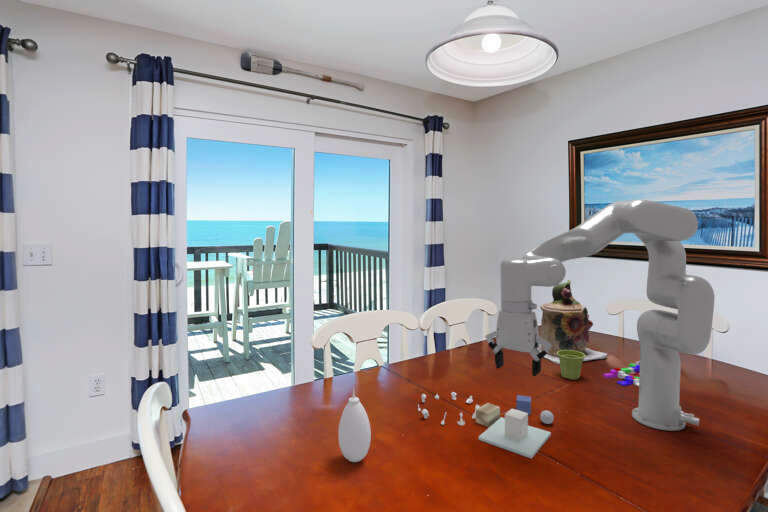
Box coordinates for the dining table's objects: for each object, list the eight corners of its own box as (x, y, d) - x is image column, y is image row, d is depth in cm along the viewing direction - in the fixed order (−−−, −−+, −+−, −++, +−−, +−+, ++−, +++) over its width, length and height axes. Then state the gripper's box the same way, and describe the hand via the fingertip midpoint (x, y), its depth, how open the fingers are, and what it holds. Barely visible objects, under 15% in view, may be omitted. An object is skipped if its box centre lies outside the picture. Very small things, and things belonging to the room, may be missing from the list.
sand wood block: (499, 420, 118) (499, 407, 117) (487, 427, 114) (487, 413, 113) (488, 415, 121) (488, 402, 120) (476, 422, 117) (476, 409, 116)
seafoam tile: (550, 435, 109) (550, 432, 109) (531, 458, 98) (531, 455, 98) (501, 419, 118) (501, 417, 118) (478, 439, 107) (478, 436, 107)
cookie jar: (522, 348, 184) (522, 278, 182) (566, 343, 192) (567, 275, 189) (561, 366, 161) (562, 286, 159) (609, 359, 168) (611, 282, 166)
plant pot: (589, 381, 145) (590, 357, 144) (562, 381, 145) (563, 358, 144) (577, 372, 154) (578, 349, 153) (552, 372, 154) (552, 350, 154)
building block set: (640, 395, 134) (640, 382, 133) (593, 374, 154) (593, 362, 153) (698, 386, 140) (698, 374, 140) (645, 367, 160) (646, 355, 160)
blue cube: (530, 409, 124) (530, 396, 124) (530, 415, 120) (530, 402, 120) (517, 407, 125) (517, 395, 125) (516, 413, 122) (516, 400, 121)
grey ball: (555, 422, 115) (555, 410, 115) (551, 427, 113) (551, 415, 112) (542, 419, 118) (542, 407, 117) (538, 423, 115) (538, 411, 115)
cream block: (527, 433, 108) (528, 413, 108) (521, 439, 105) (521, 419, 105) (511, 427, 111) (511, 408, 111) (504, 434, 108) (504, 414, 107)
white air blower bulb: (371, 450, 103) (369, 381, 101) (371, 469, 95) (369, 394, 93) (340, 451, 102) (338, 382, 101) (337, 470, 95) (335, 395, 93)
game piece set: (431, 431, 112) (431, 418, 112) (407, 402, 131) (407, 390, 131) (493, 421, 117) (494, 408, 117) (462, 394, 136) (462, 383, 136)
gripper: (555, 307, 102) (556, 373, 104) (491, 300, 114) (492, 360, 115) (545, 312, 97) (546, 382, 98) (478, 305, 108) (480, 368, 109)
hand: (517, 370), depth 106 cm, fingers open, 9 cm apart
